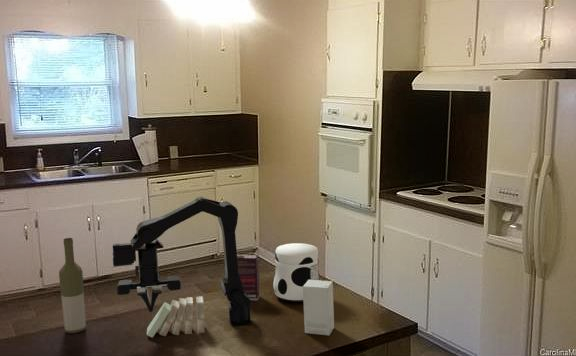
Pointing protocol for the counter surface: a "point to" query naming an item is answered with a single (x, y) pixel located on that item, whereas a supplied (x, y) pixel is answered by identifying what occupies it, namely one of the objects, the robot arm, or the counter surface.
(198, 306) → the end domino
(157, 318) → the domino
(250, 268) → the supplement box
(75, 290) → the bottle
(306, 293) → the skincare box
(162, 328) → the domino
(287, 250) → the milk container
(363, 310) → the counter surface
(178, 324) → the domino
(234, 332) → the counter surface
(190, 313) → the domino
